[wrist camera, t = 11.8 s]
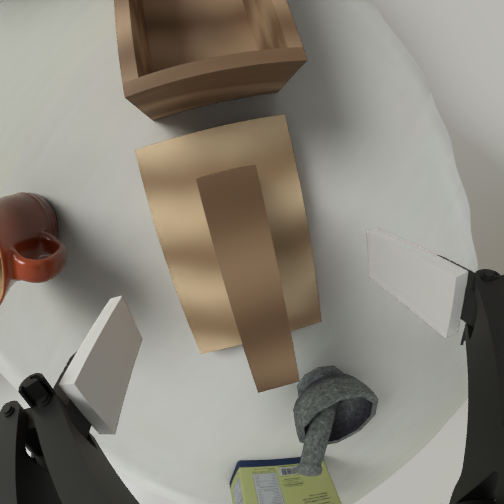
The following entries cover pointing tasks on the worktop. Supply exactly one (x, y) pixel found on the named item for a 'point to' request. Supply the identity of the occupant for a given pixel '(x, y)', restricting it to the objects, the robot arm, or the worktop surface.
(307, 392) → the mortar and pestle
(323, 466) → the protein box
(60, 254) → the mug
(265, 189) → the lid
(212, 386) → the worktop surface
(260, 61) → the box
